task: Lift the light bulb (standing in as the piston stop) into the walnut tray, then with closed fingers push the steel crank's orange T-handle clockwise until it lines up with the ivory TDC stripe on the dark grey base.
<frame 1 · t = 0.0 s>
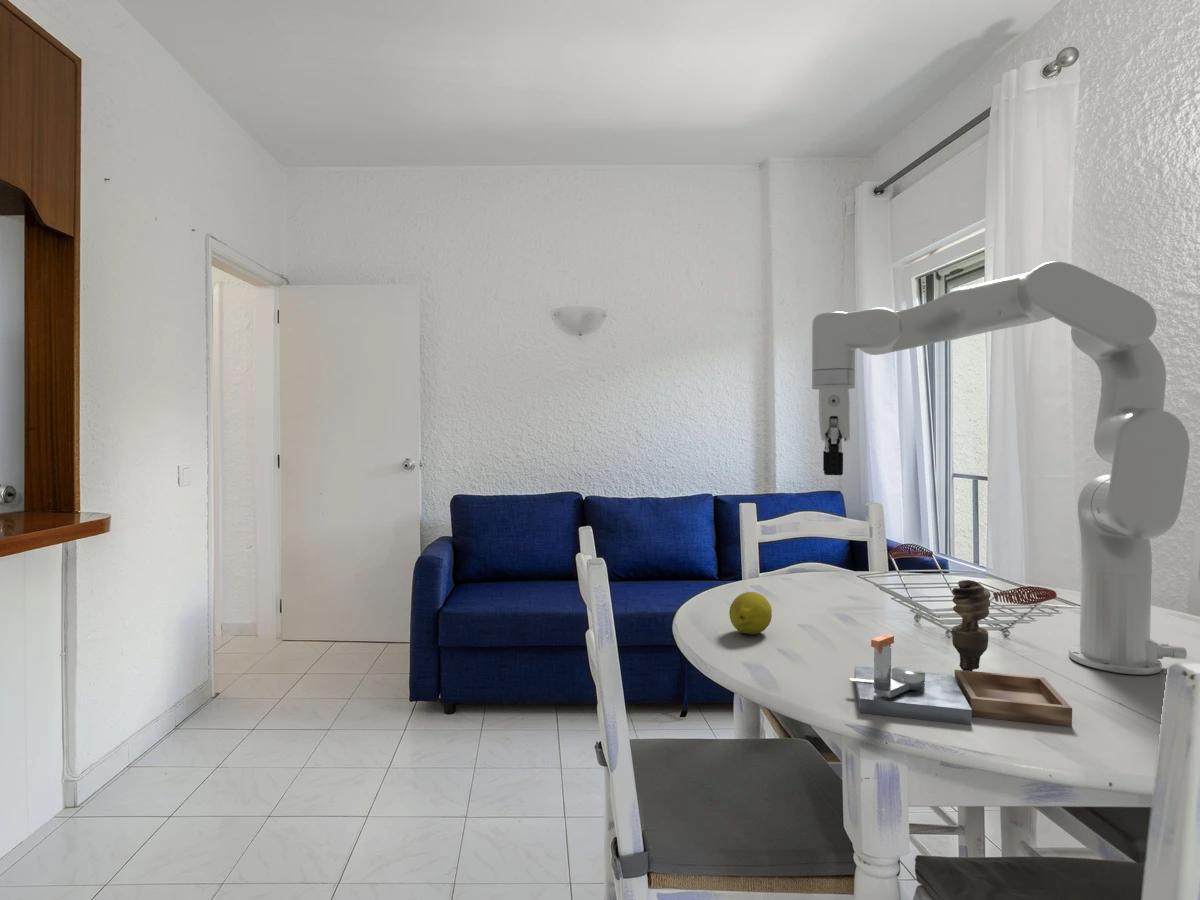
hand: (832, 473, 130), 31 cm above the table, fingers open, 9 cm apart
tray: (1008, 704, 101), on the table
crank: (896, 661, 100), point 6 cm above the table, hinge at 55.0°
crank base: (908, 699, 103), on the table
light bulb: (970, 674, 114), on the table
lemon: (749, 635, 136), on the table
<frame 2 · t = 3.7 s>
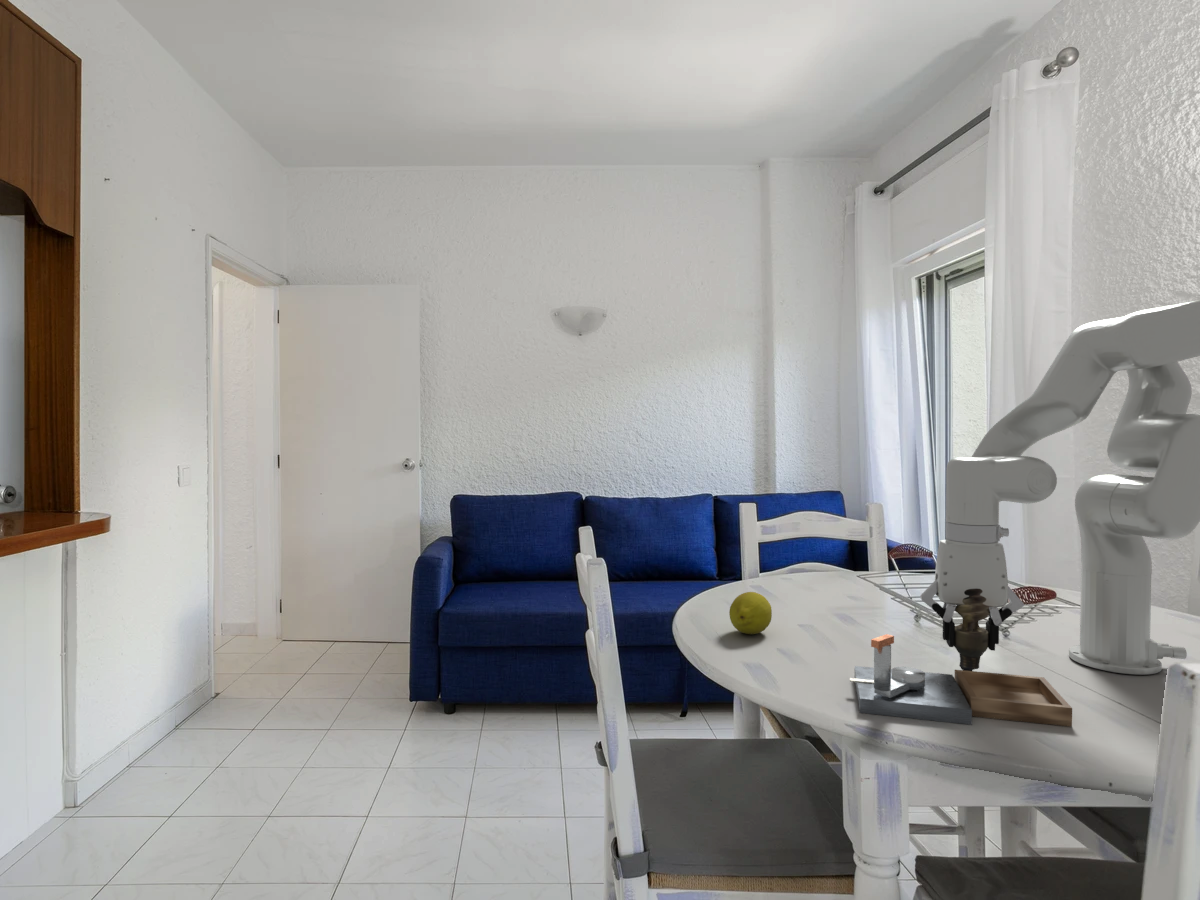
hand: (970, 645, 114), 4 cm above the table, fingers closed on light bulb, 5 cm apart
light bulb: (970, 674, 114), on the table, touching gripper
everything else where it was.
when the fingers open (7 cm above the table, at t = 9.1 s): light bulb drops 1 cm, resting on tray.
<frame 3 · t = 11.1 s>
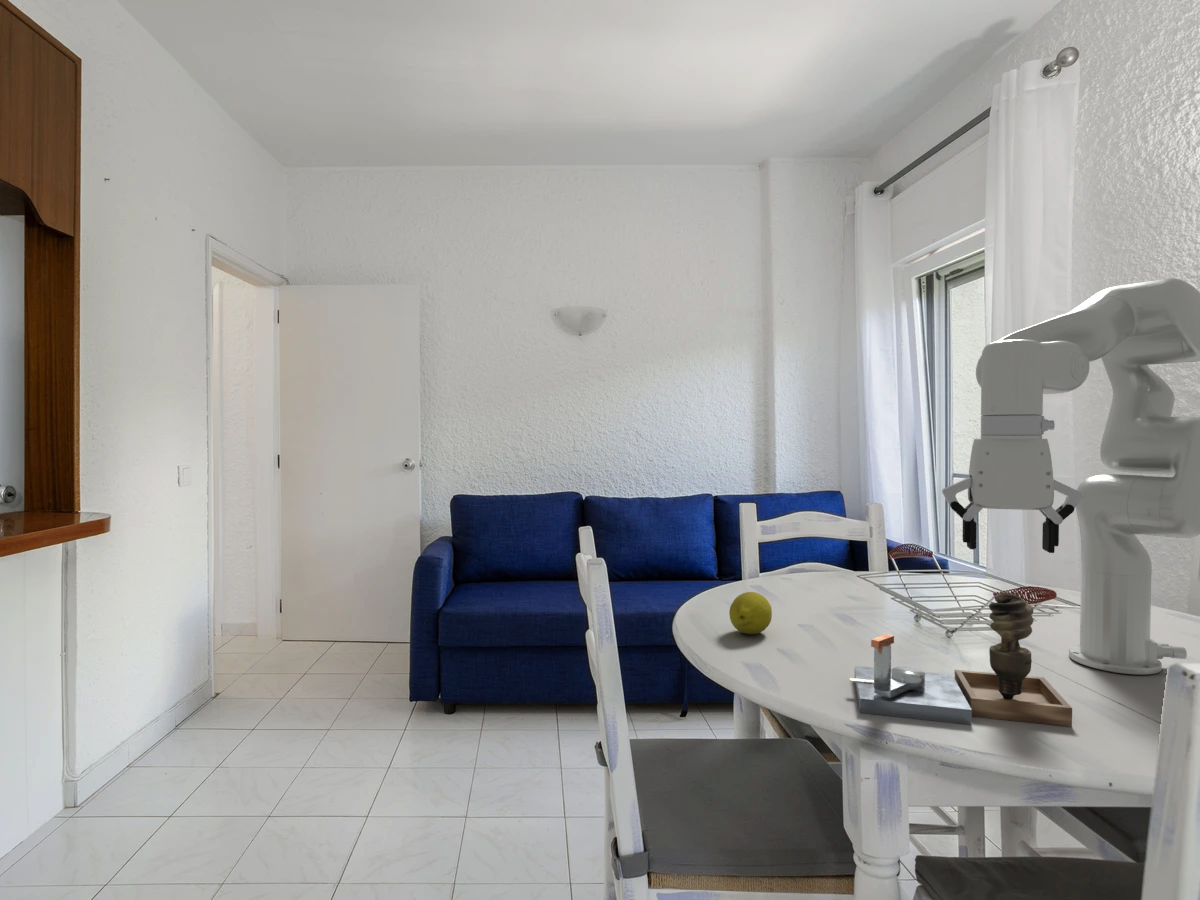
hand: (1009, 549, 100), 22 cm above the table, fingers open, 9 cm apart
light bulb: (1010, 700, 101), point 1 cm above the table, touching tray
everything else where it was.
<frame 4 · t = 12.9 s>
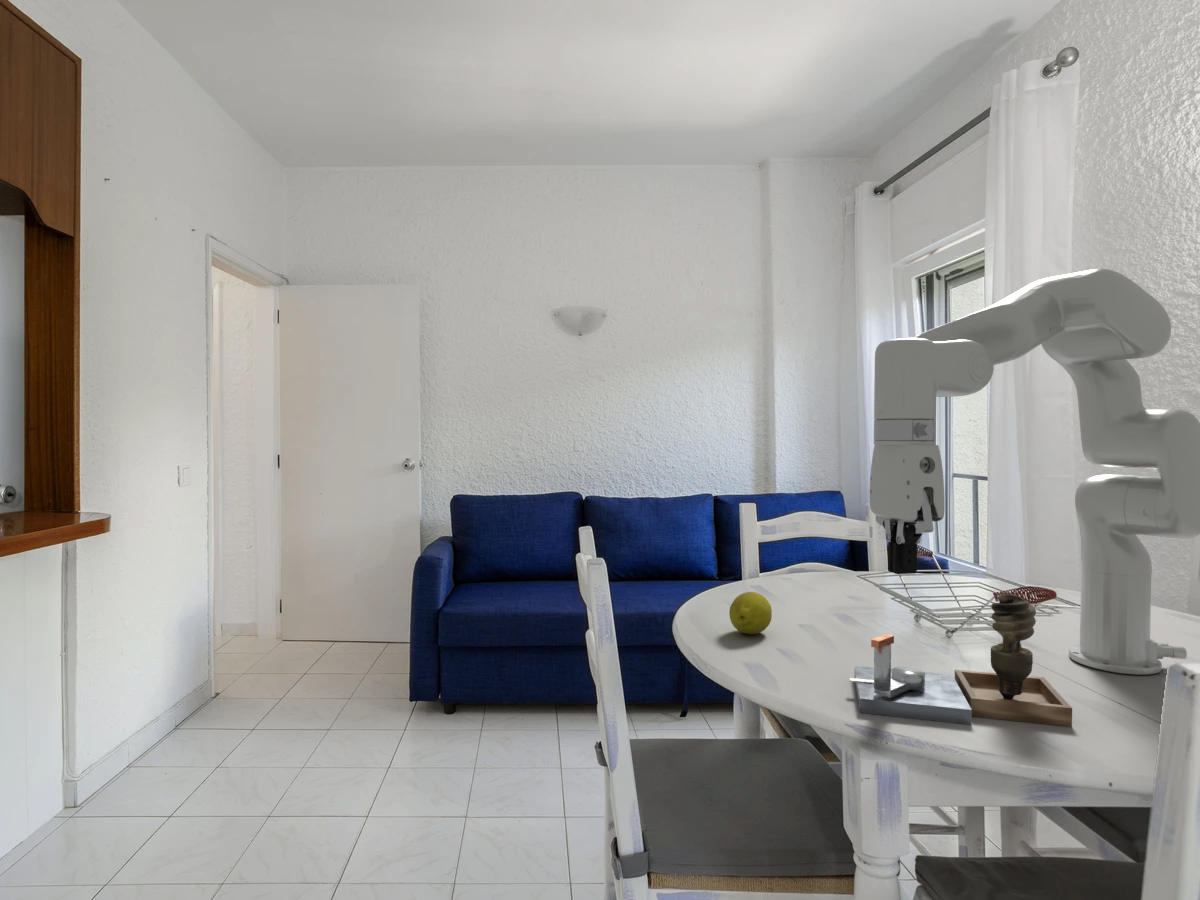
hand: (902, 572, 93), 20 cm above the table, fingers closed
nothing on the table moved.
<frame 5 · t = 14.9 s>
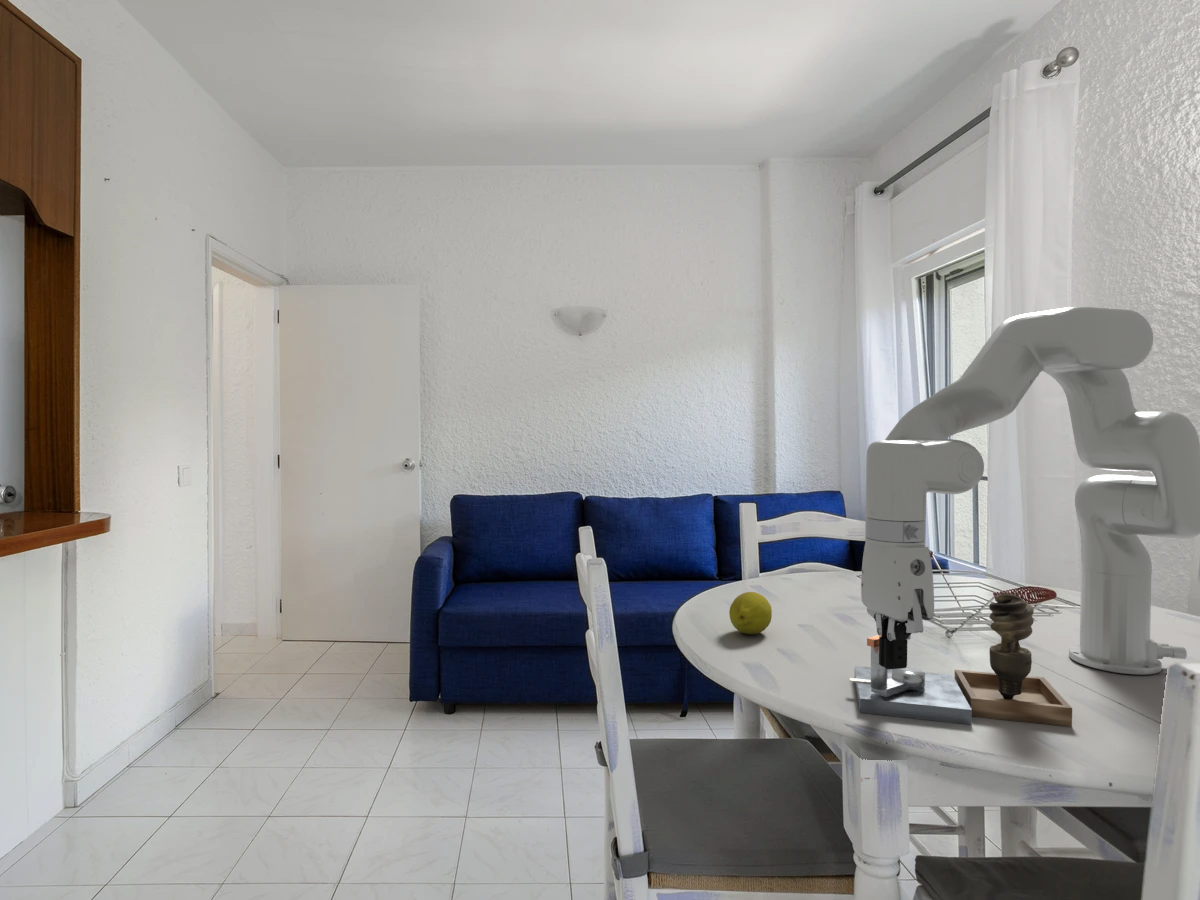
hand: (892, 666, 95), 7 cm above the table, fingers closed
crank: (894, 660, 100), point 6 cm above the table, hinge at 50.7°, touching gripper
everything else where it was.
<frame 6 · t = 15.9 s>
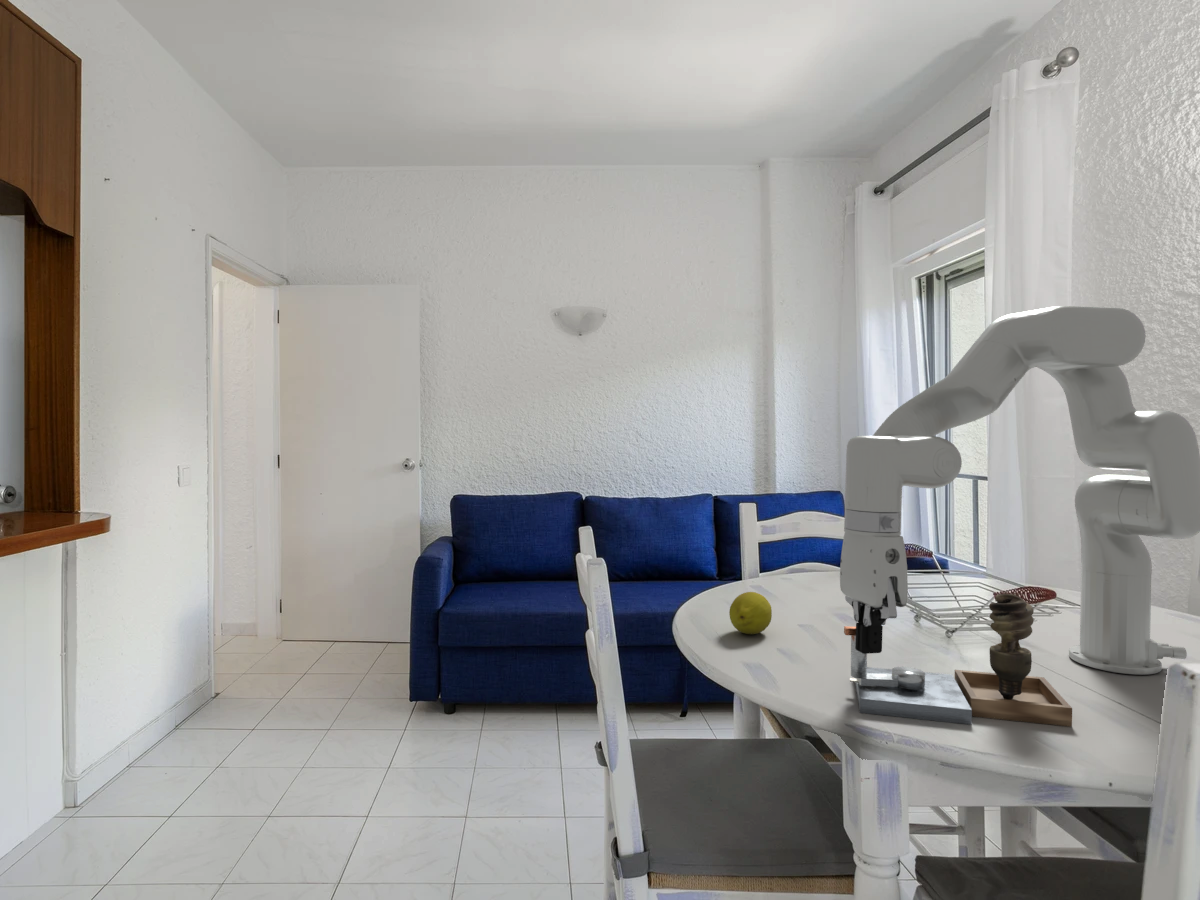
hand: (868, 651, 100), 8 cm above the table, fingers closed
crank: (884, 655, 103), point 6 cm above the table, hinge at 11.6°, touching gripper
everything else where it was.
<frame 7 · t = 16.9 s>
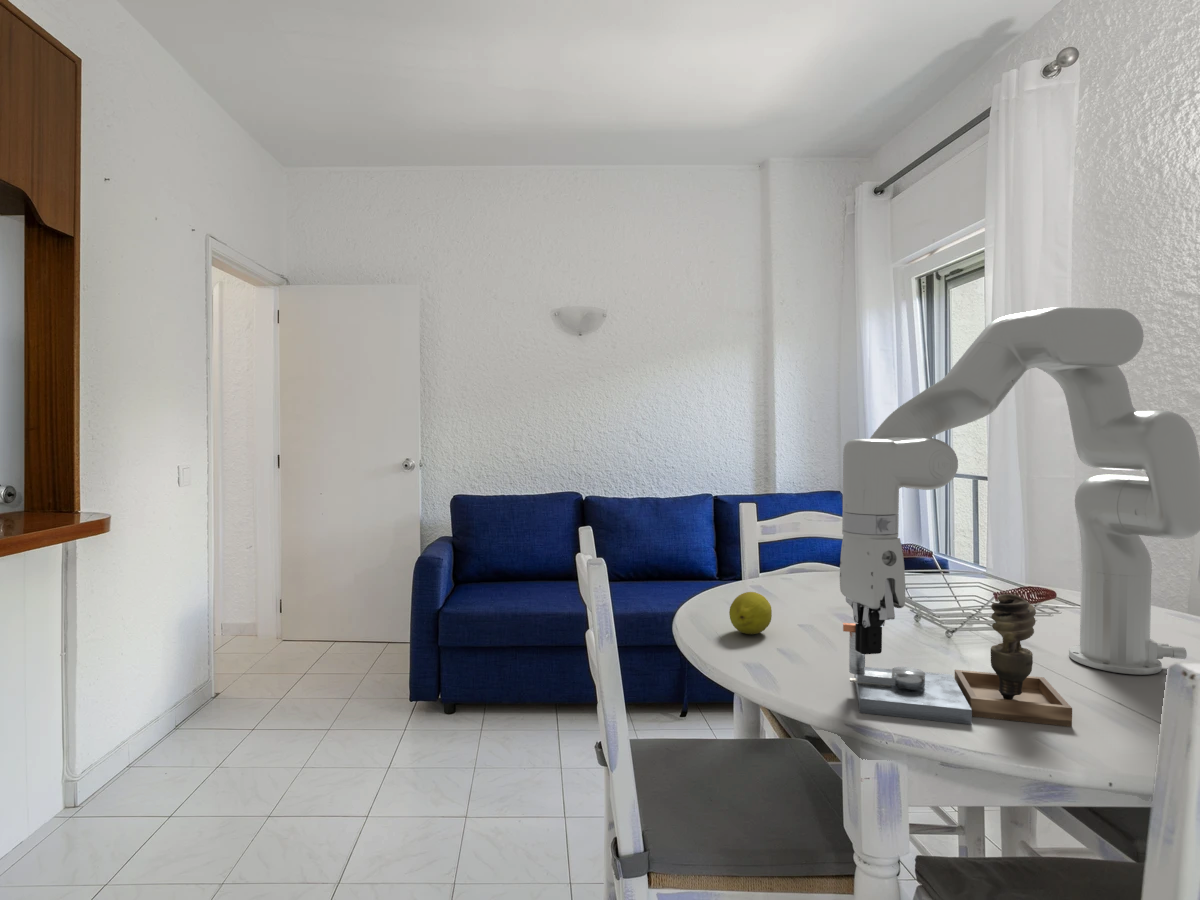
hand: (868, 652, 101), 7 cm above the table, fingers closed
crank: (883, 654, 103), point 6 cm above the table, hinge at -1.2°
everything else where it was.
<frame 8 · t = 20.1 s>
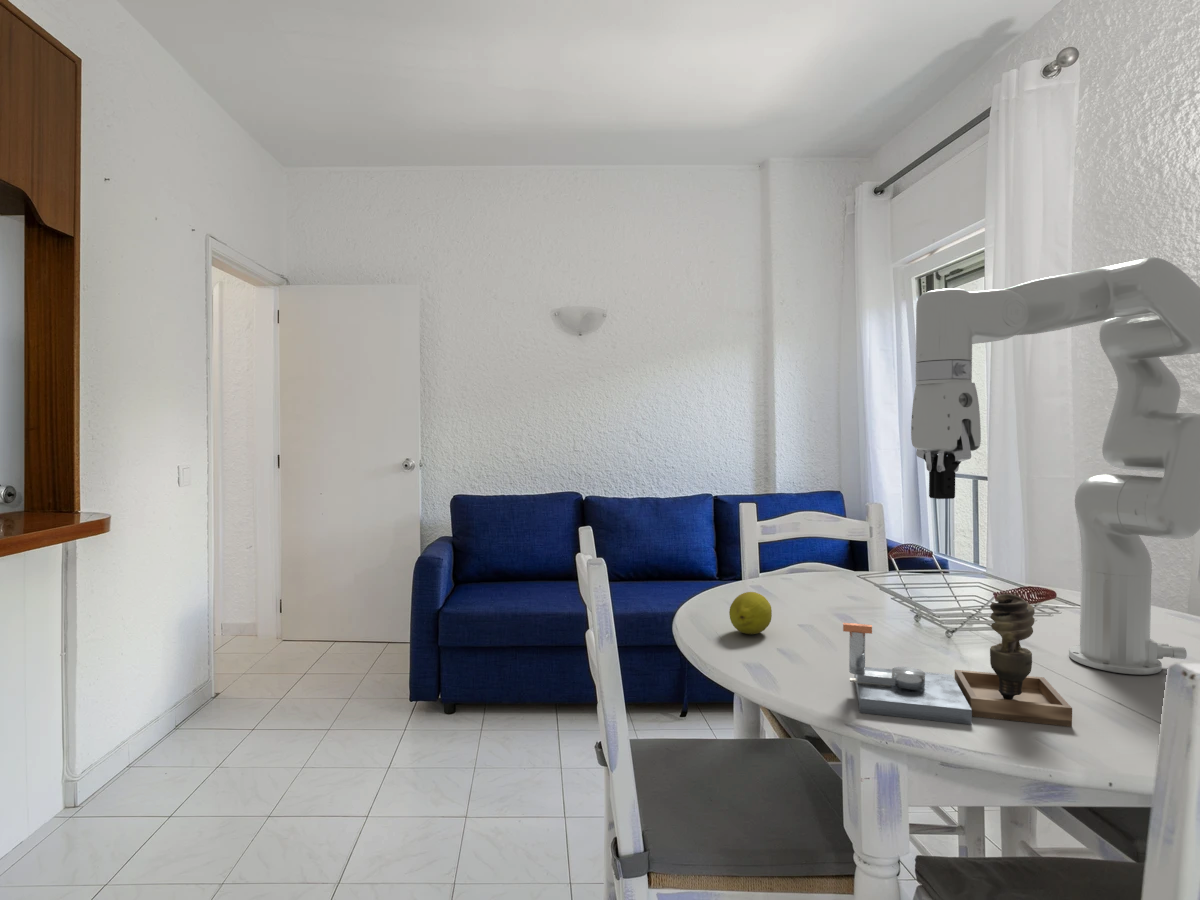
hand: (941, 497, 105), 29 cm above the table, fingers closed
nothing on the table moved.
at the end: light bulb inside the target area on the tray (0.4 cm from its centre), point 0.6 cm above the tray's base; crank at -1° (first picture: +55°); the gripper is holding nothing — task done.
